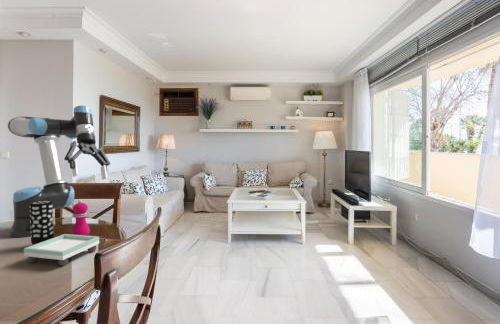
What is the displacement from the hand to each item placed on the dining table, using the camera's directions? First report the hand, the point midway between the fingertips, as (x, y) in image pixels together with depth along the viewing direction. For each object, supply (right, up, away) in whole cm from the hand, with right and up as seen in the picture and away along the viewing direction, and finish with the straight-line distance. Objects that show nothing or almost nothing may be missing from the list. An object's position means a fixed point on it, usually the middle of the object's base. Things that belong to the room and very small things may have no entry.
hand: (90, 177), depth 123 cm
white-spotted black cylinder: (-22, -32, +1) cm, 39 cm away
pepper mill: (-9, -31, +7) cm, 33 cm away
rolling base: (-4, -32, -11) cm, 34 cm away
